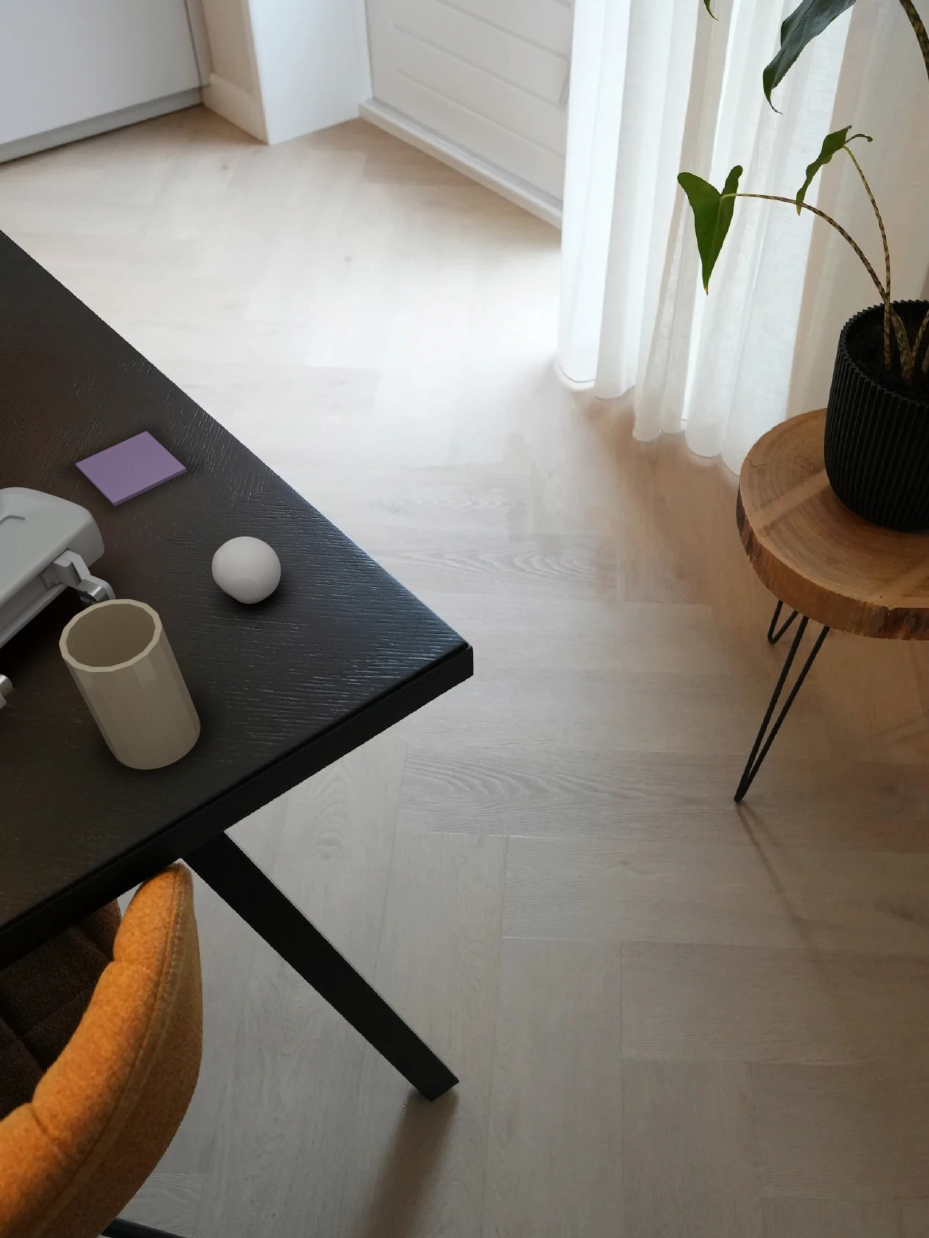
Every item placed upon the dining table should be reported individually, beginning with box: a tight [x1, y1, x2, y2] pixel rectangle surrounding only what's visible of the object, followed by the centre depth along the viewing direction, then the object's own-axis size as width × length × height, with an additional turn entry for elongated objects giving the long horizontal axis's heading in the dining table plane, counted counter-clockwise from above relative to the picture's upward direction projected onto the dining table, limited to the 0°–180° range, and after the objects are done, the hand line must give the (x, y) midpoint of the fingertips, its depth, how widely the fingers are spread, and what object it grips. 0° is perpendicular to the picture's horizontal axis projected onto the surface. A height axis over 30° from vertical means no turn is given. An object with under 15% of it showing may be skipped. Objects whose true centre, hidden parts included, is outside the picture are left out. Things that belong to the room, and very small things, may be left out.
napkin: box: [75, 430, 188, 507], centre depth 94 cm, size 7×7×1 cm
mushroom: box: [211, 536, 282, 605], centre depth 83 cm, size 5×5×5 cm
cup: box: [58, 598, 202, 770], centre depth 73 cm, size 6×6×10 cm
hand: (58, 644), depth 75 cm, fingers open, 8 cm apart
